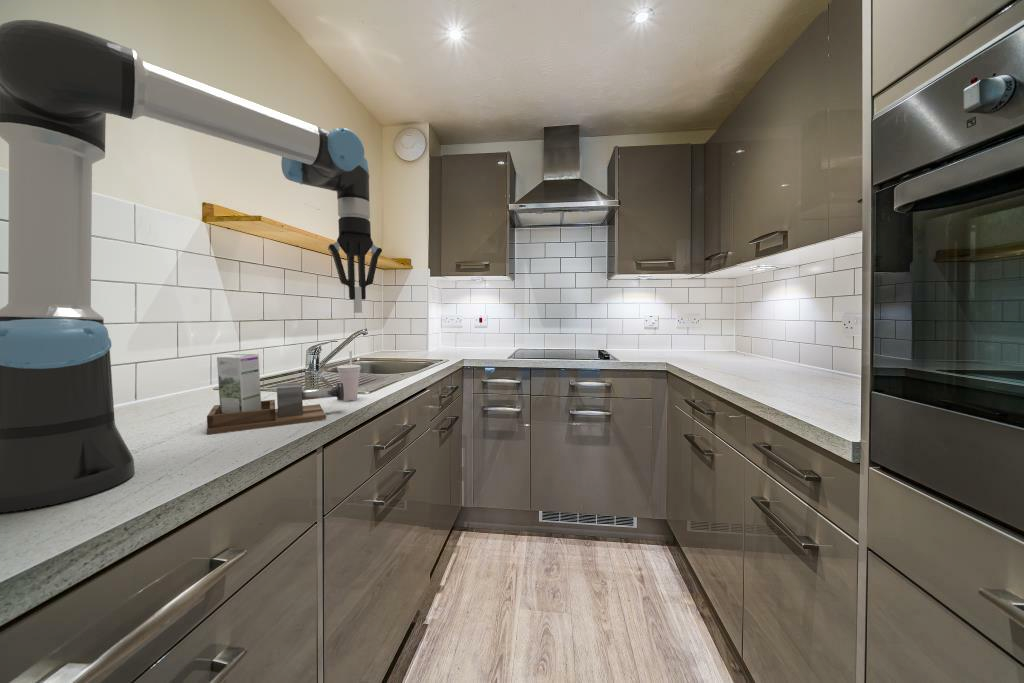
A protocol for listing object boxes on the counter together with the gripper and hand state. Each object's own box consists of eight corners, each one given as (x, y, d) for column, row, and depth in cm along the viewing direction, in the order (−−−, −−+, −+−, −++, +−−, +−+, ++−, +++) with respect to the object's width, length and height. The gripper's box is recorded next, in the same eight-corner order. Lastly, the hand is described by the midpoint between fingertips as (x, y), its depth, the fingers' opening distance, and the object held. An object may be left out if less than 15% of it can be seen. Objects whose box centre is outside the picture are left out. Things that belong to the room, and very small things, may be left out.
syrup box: (263, 415, 92) (260, 353, 91) (242, 422, 86) (238, 355, 85) (241, 415, 92) (238, 353, 92) (218, 421, 87) (215, 355, 86)
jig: (325, 419, 92) (324, 386, 91) (207, 434, 81) (205, 397, 80) (319, 407, 104) (318, 378, 103) (215, 419, 92) (213, 386, 92)
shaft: (344, 401, 98) (343, 383, 98) (282, 408, 91) (281, 389, 91) (341, 398, 102) (341, 381, 102) (282, 404, 95) (281, 386, 95)
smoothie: (357, 401, 111) (355, 352, 110) (334, 402, 111) (332, 352, 110) (365, 397, 117) (363, 350, 117) (343, 397, 117) (341, 350, 117)
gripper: (377, 224, 107) (380, 312, 108) (324, 219, 100) (328, 312, 101) (384, 218, 100) (387, 312, 102) (328, 212, 93) (332, 312, 95)
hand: (357, 312), depth 102 cm, fingers closed
